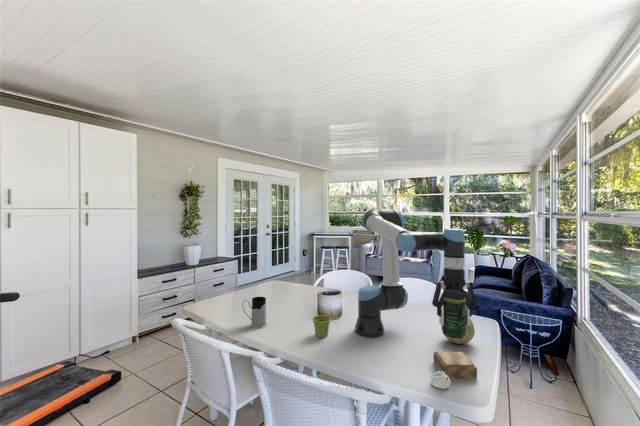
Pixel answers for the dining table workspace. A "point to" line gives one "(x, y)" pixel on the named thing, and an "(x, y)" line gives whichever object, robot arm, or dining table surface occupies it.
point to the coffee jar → (454, 313)
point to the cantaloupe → (468, 336)
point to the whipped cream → (440, 380)
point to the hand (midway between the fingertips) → (454, 324)
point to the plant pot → (321, 325)
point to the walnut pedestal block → (455, 365)
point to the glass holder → (258, 312)
